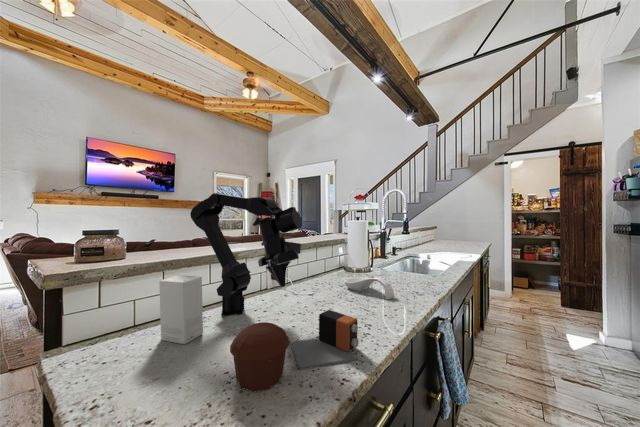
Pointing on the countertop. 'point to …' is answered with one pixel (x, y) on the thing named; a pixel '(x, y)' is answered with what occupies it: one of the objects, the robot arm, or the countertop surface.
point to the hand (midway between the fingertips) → (283, 286)
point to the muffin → (259, 355)
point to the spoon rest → (364, 283)
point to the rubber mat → (319, 354)
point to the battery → (338, 330)
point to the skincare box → (181, 308)
